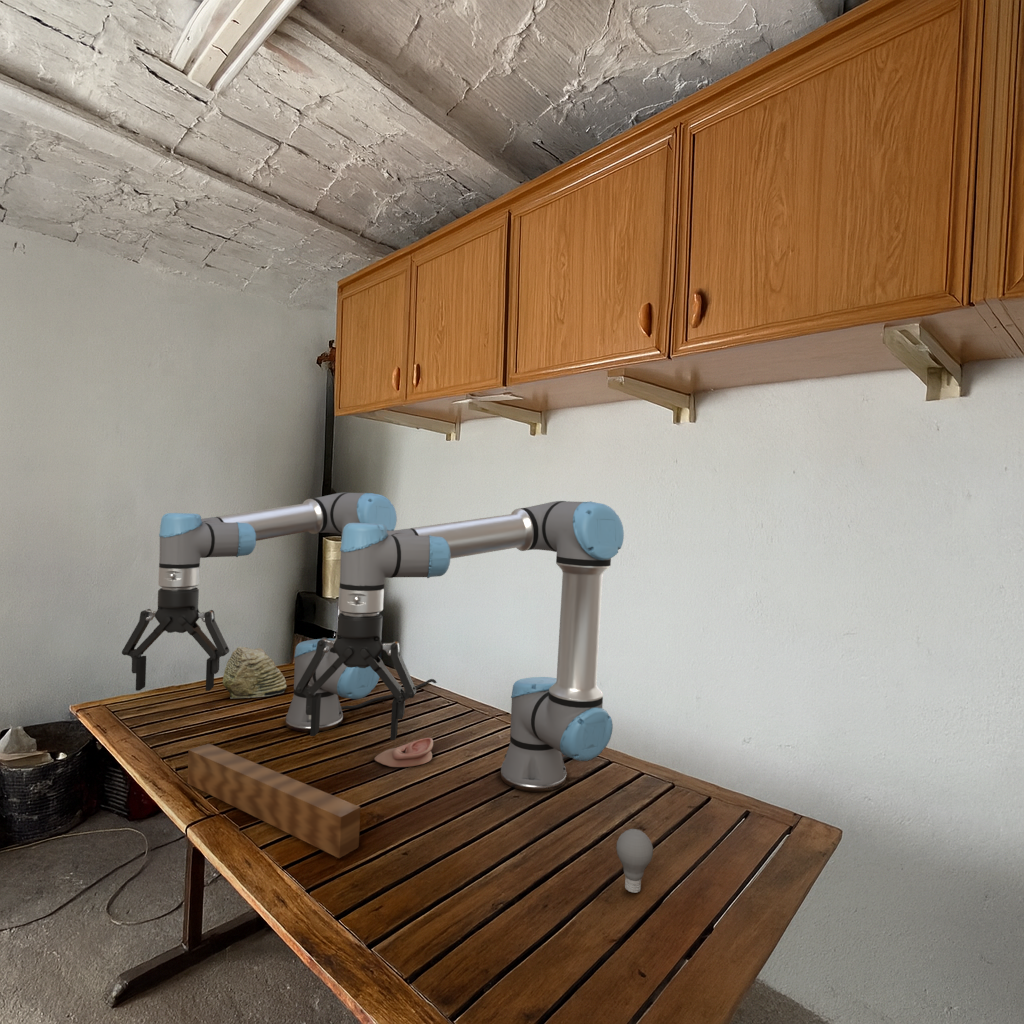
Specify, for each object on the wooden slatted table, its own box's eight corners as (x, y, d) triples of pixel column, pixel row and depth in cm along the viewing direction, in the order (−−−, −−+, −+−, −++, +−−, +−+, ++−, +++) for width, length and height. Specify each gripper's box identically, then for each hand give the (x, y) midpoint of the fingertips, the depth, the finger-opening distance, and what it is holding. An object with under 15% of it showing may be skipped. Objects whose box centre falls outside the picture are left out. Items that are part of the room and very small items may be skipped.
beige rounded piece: (369, 747, 150) (388, 730, 162) (368, 764, 151) (387, 746, 162) (422, 754, 148) (438, 736, 159) (421, 771, 148) (437, 752, 159)
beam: (187, 783, 137) (188, 749, 137) (207, 776, 141) (208, 743, 141) (339, 858, 111) (340, 817, 111) (359, 846, 115) (360, 806, 115)
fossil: (218, 695, 195) (220, 647, 195) (278, 685, 208) (279, 640, 207) (228, 703, 189) (230, 653, 188) (289, 692, 201) (290, 645, 201)
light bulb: (610, 879, 108) (613, 822, 108) (644, 879, 109) (647, 822, 109) (619, 902, 102) (622, 840, 102) (655, 901, 103) (658, 840, 103)
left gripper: (105, 588, 126) (101, 694, 127) (236, 591, 130) (232, 694, 130) (123, 583, 134) (119, 683, 134) (246, 586, 137) (243, 683, 137)
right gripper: (280, 612, 105) (273, 740, 105) (430, 620, 105) (424, 746, 106) (294, 605, 112) (289, 724, 113) (435, 612, 113) (429, 730, 113)
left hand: (175, 689), depth 132 cm, fingers open, 13 cm apart
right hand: (354, 735), depth 109 cm, fingers open, 13 cm apart
